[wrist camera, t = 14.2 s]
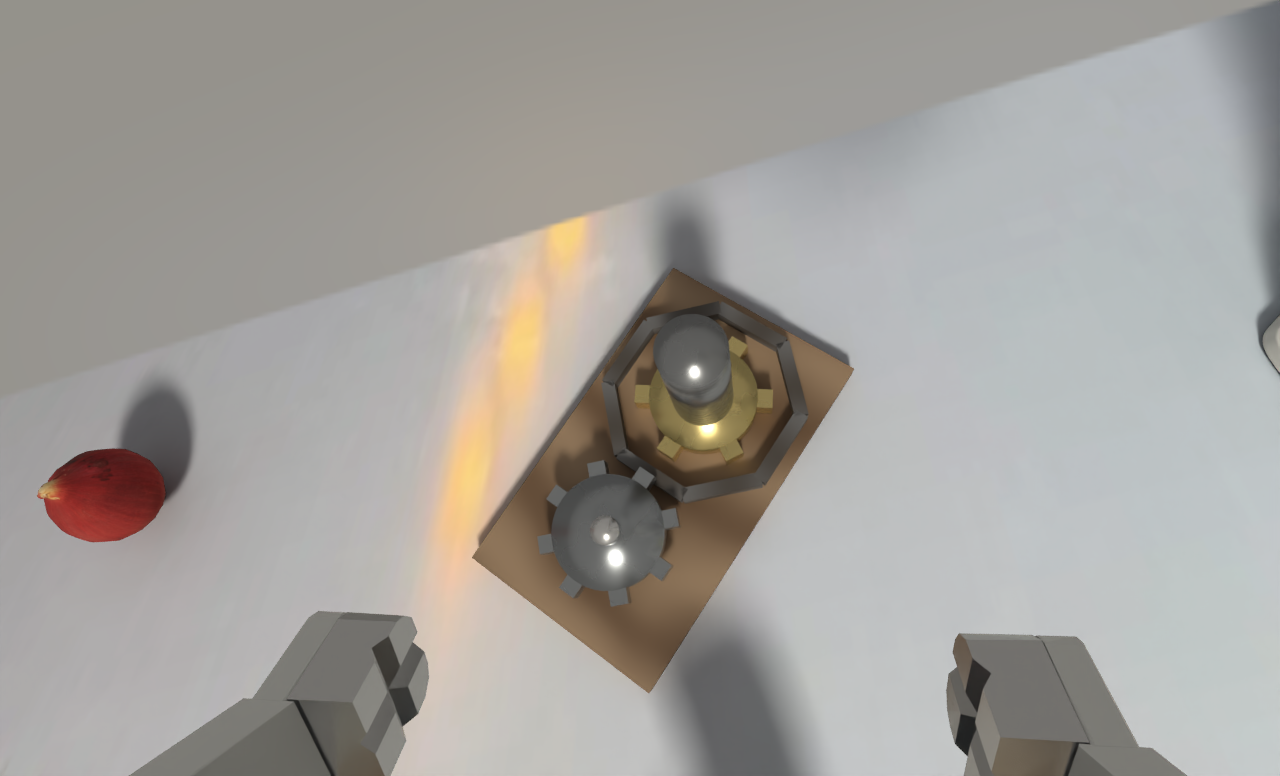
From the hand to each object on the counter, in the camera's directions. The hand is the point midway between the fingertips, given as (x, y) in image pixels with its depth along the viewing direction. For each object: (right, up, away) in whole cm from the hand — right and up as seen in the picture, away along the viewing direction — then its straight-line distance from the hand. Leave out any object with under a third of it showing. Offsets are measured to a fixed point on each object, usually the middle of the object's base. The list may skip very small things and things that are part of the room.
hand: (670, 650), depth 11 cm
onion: (-34, -4, +37) cm, 50 cm away
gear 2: (+3, +3, +32) cm, 32 cm away
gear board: (+1, -1, +33) cm, 33 cm away
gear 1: (-2, -5, +31) cm, 31 cm away
